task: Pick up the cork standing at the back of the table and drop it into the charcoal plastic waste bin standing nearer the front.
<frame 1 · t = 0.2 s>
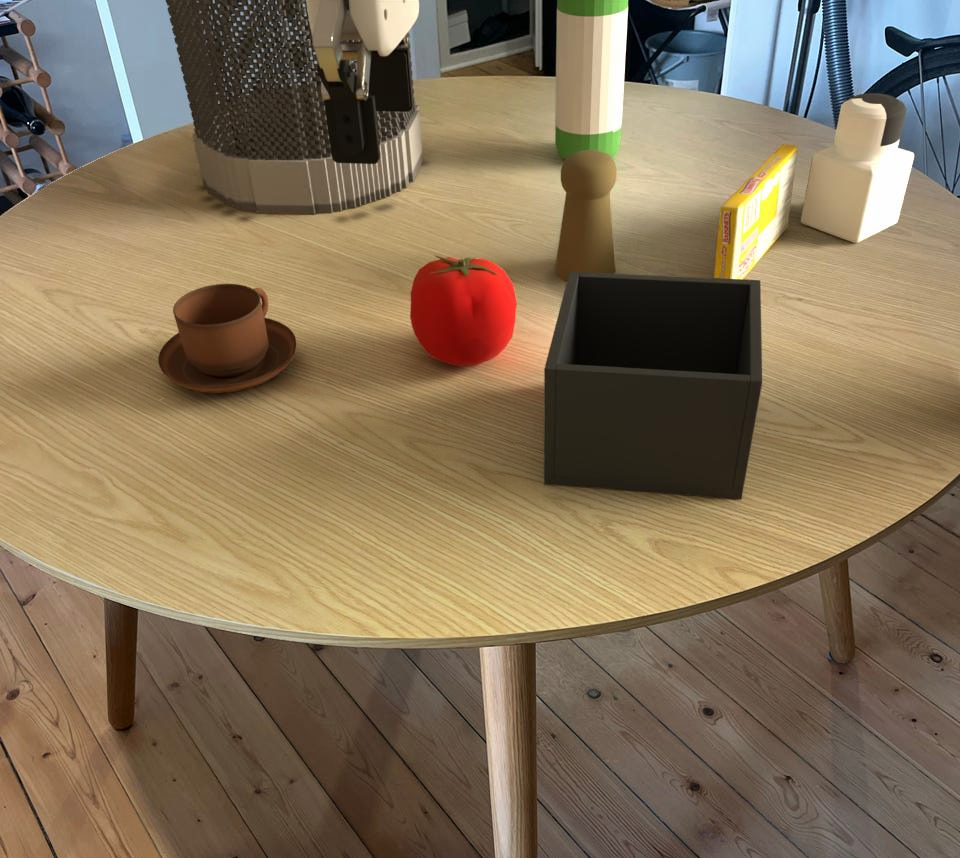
hand: (375, 134, 71), 21 cm above the table, tool pointing down, fingers open, 9 cm apart
wastebasket: (314, 171, 122), on the table
candy box: (749, 260, 102), on the table
cup and saucer: (232, 370, 91), on the table
cork: (585, 271, 101), on the table
wine bottle: (587, 156, 122), on the table
tomato: (463, 354, 91), on the table
medicine bottle: (847, 225, 106), on the table
bin: (647, 436, 81), on the table
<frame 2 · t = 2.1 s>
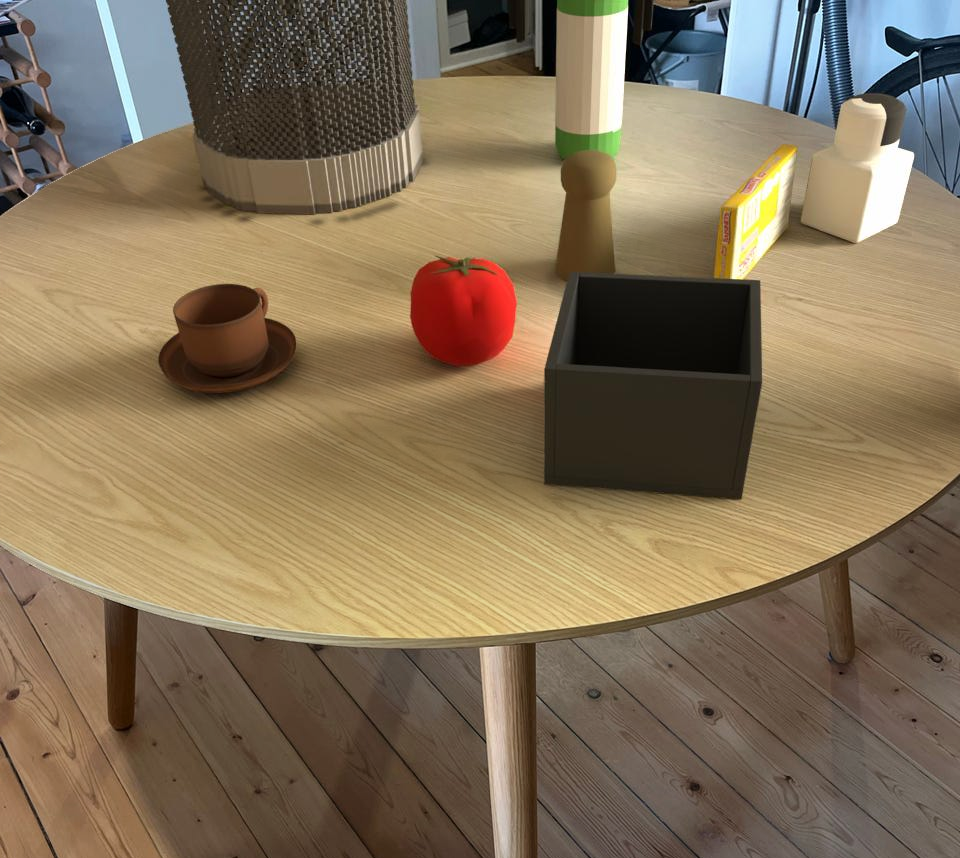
hand: (579, 38, 85), 21 cm above the table, tool pointing down, fingers open, 9 cm apart
nothing on the table moved.
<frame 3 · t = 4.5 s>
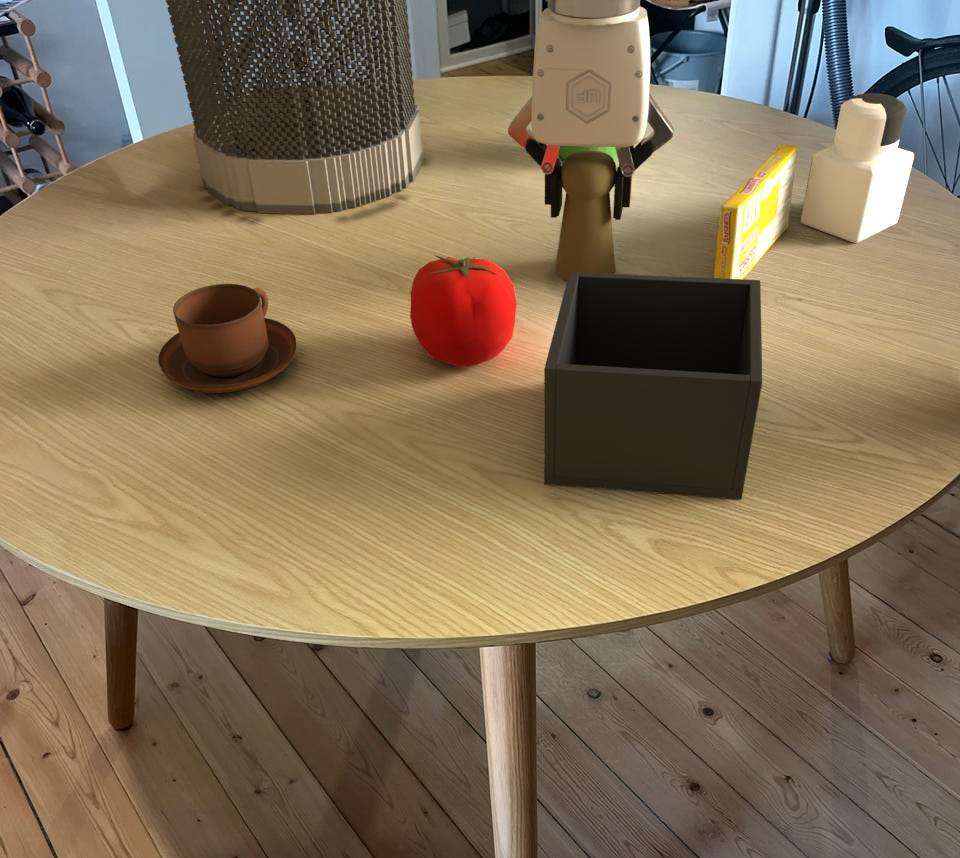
hand: (587, 211, 97), 6 cm above the table, tool pointing down, fingers closed on cork, 5 cm apart
cork: (585, 271, 101), on the table, touching gripper
everything else where it was.
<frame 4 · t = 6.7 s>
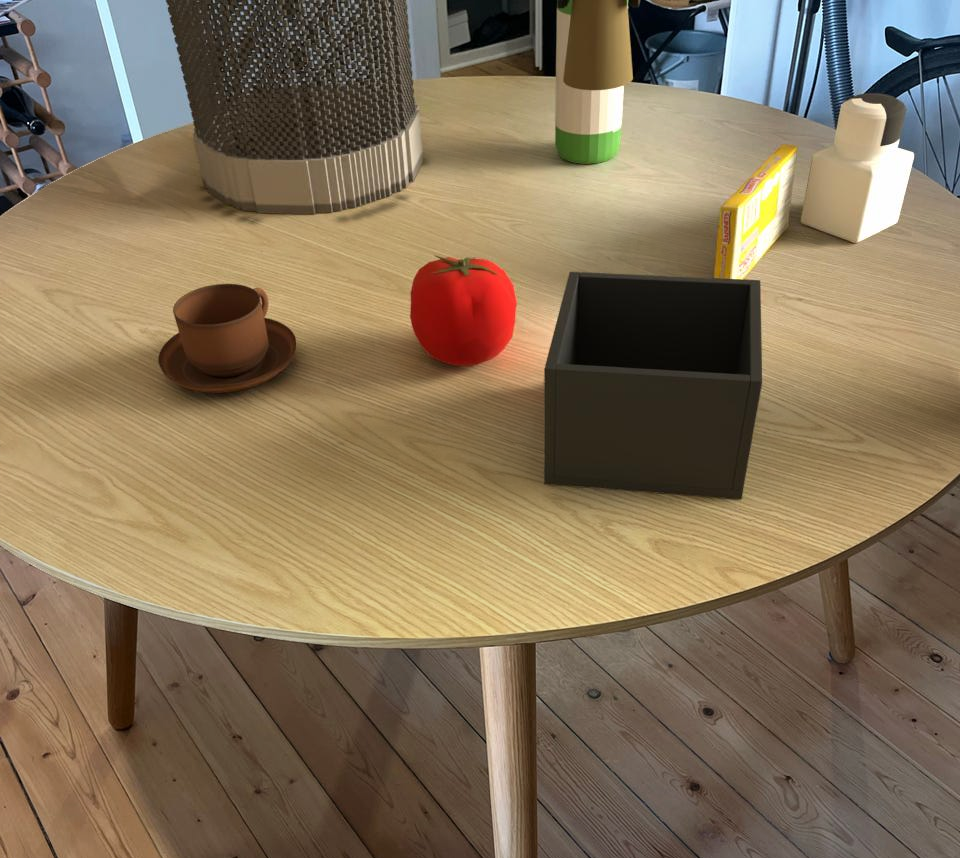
hand: (599, 1, 84), 23 cm above the table, tool pointing down, fingers closed on cork, 5 cm apart
cork: (597, 81, 88), point 17 cm above the table, touching gripper
everything else where it was.
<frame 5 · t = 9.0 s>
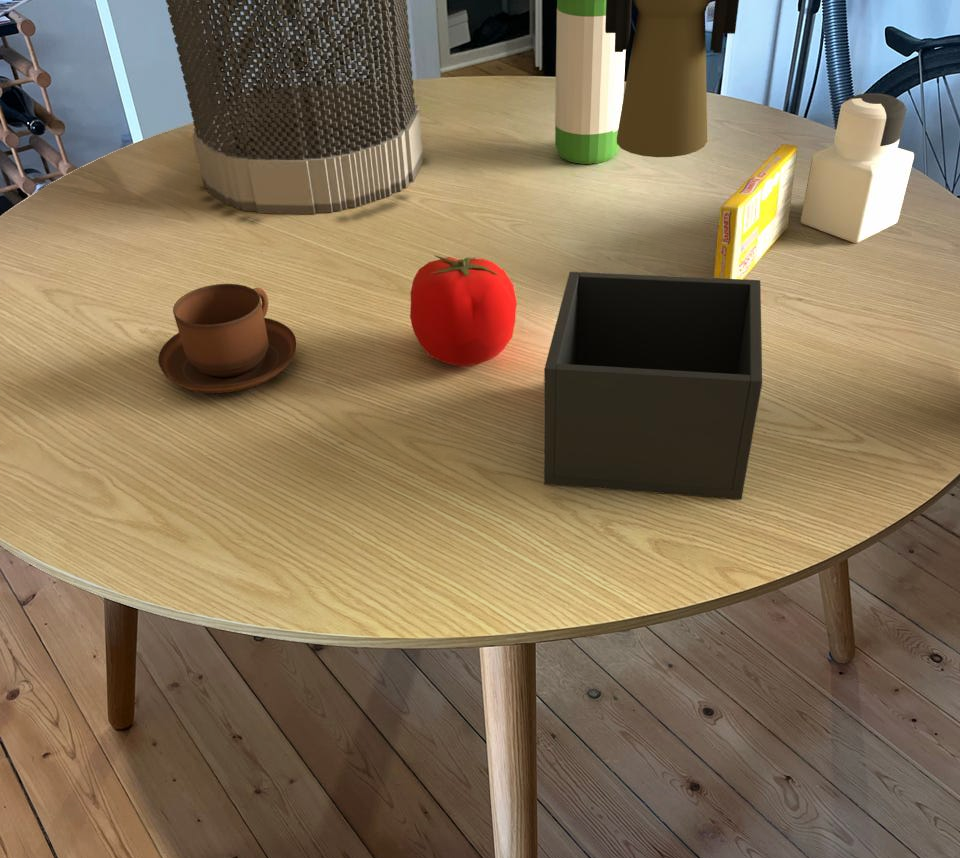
hand: (669, 42, 64), 27 cm above the table, tool pointing down, fingers closed on cork, 5 cm apart
cork: (661, 143, 69), point 21 cm above the table, touching gripper
everything else where it was.
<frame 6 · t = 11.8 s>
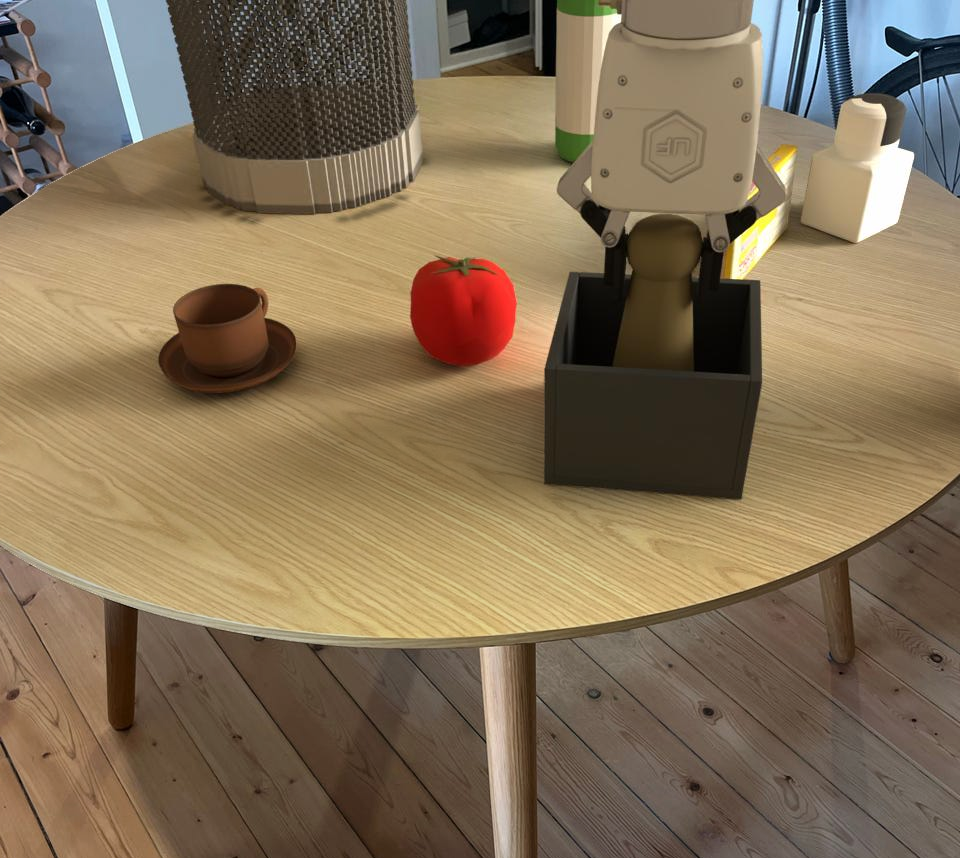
hand: (660, 293, 72), 12 cm above the table, tool pointing down, fingers closed on cork, 5 cm apart
cork: (652, 369, 77), point 6 cm above the table, touching gripper
everything else where it was.
when the fingers open (7 cm above the table, at t = 13.8 s): cork stays where it is, resting on bin.
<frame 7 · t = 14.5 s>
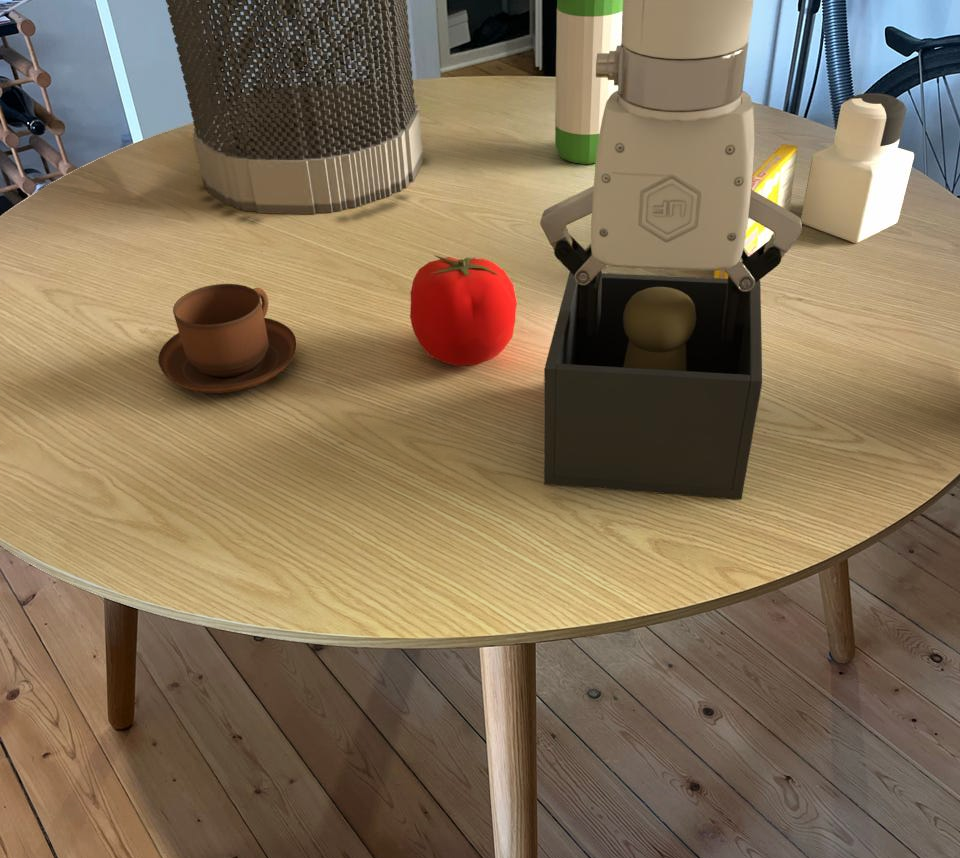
hand: (659, 331, 74), 9 cm above the table, tool pointing down, fingers open, 9 cm apart
cork: (649, 429, 80), point 1 cm above the table, touching bin
everything else where it was.
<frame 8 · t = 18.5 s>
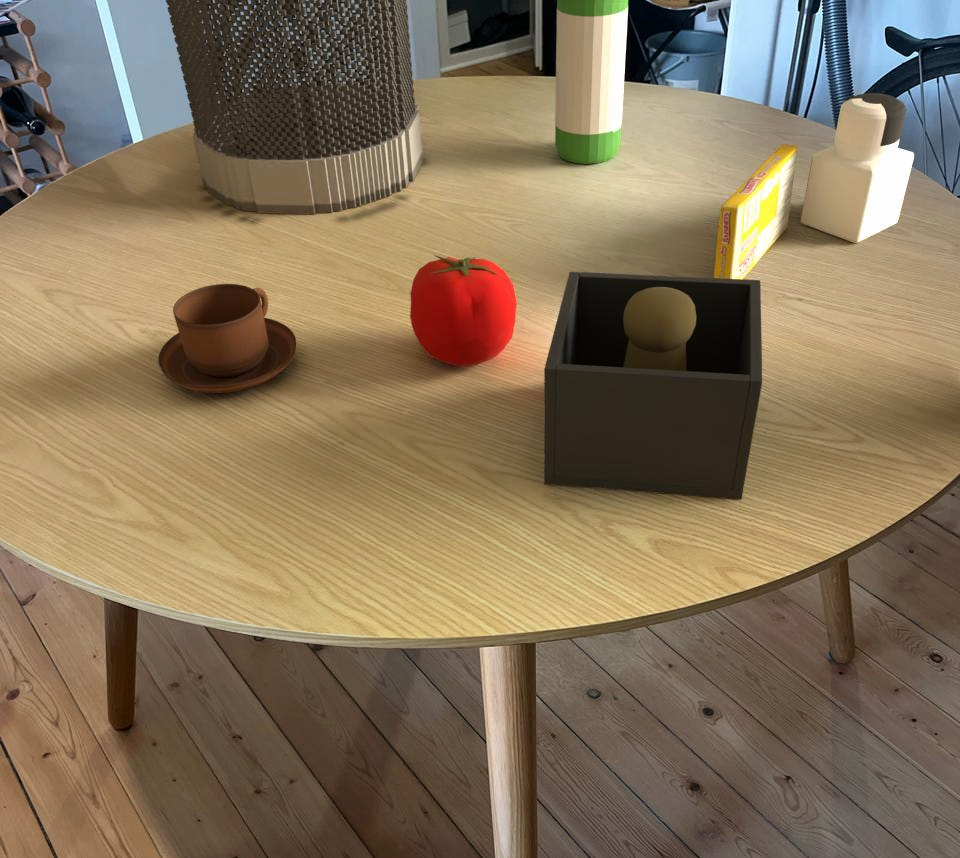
nothing on the table moved.
at the end: cork inside the target area in the bin (0.1 cm from its centre), point 0.6 cm above the bin's base; the gripper is holding nothing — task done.
